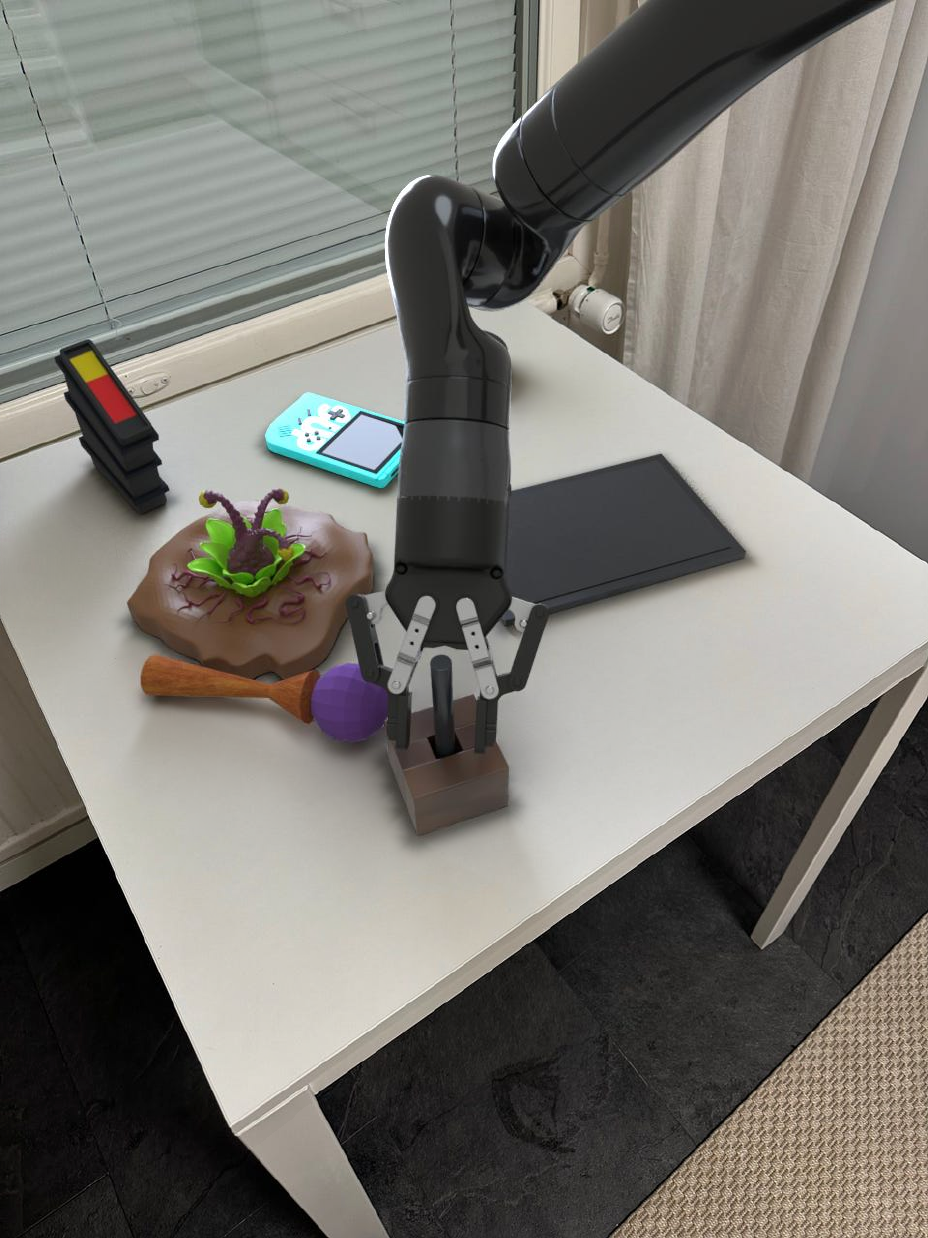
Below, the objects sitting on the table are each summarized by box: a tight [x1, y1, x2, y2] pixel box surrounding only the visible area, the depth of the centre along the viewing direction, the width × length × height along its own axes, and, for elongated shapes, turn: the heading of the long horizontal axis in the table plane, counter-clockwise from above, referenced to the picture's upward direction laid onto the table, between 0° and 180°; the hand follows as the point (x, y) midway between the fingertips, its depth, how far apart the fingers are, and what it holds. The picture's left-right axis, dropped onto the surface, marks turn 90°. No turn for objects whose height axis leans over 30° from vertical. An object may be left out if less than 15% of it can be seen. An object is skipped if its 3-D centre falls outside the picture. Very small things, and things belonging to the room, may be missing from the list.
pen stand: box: [383, 693, 510, 837], centre depth 65 cm, size 7×7×5 cm
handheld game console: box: [264, 392, 405, 489], centre depth 95 cm, size 10×16×1 cm, turn 62°
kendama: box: [140, 653, 388, 743], centre depth 69 cm, size 6×6×20 cm
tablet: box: [500, 453, 747, 627], centre depth 85 cm, size 24×16×1 cm, turn 110°
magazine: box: [54, 338, 170, 515], centre depth 87 cm, size 4×13×15 cm, turn 41°
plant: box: [126, 487, 375, 680], centre depth 76 cm, size 20×20×11 cm
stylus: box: [429, 654, 455, 760], centre depth 62 cm, size 1×1×14 cm
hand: (441, 749), depth 60 cm, fingers open, 4 cm apart
